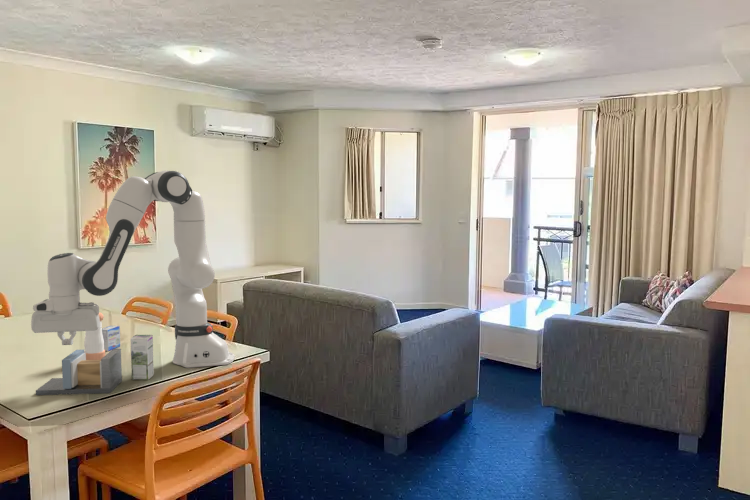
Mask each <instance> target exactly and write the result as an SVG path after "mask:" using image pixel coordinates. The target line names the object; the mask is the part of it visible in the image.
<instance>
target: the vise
mask: <svg viewBox="0 0 750 500" xmlns="http://www.w3.org/2000/svg"><path fill="white" fill-rule="evenodd" d="M122 368H123V367H122V348H115V349H113V350H110V351H108V352H107V354H105V356H104V357H103V358H102V359H101V361H100V384H101V385H78V384H77V385H76V386H75V387H72V388H71V389H63V377H54V378H52V377H51V379H49V380H48V381H46V382H45V383H44V384H42V385H41V386H40V387H39V388H37V389H36V390H35V396H50V395H51V396H53V395H54V396H55V395H57V396H58V395H59V394H62V395H86V394H88V395H89V394H111V393H112V392H113V391H114V390H115V389H116V387H118V386H119V384H120V383H122V381H123V378H122V377H123V375H122V374H123V373H122Z"/></svg>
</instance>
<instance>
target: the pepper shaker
mask: <svg viewBox="0 0 750 500" xmlns="http://www.w3.org/2000/svg"><path fill="white" fill-rule="evenodd" d="M98 315H99V319H100V327H99V328H98V329H97V330H95V331H85V333H84V334H85V336H84V353H86V360H101V359H102V358H103V357H104V356H105V355H106V351H105V350H104V339H103V335H102V327H103V325H102V321H103V320H104V318H105V316H104V314H103V313H102V312H100V311H99V314H98Z"/></svg>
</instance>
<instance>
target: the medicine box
mask: <svg viewBox="0 0 750 500" xmlns="http://www.w3.org/2000/svg"><path fill="white" fill-rule="evenodd" d="M120 329H121V328H120V325H109V326H106V327H103V328H102V335H103V339H104V350H105V352H110V351H111V350H113V349H118V348H119V347H121V330H120Z"/></svg>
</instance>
